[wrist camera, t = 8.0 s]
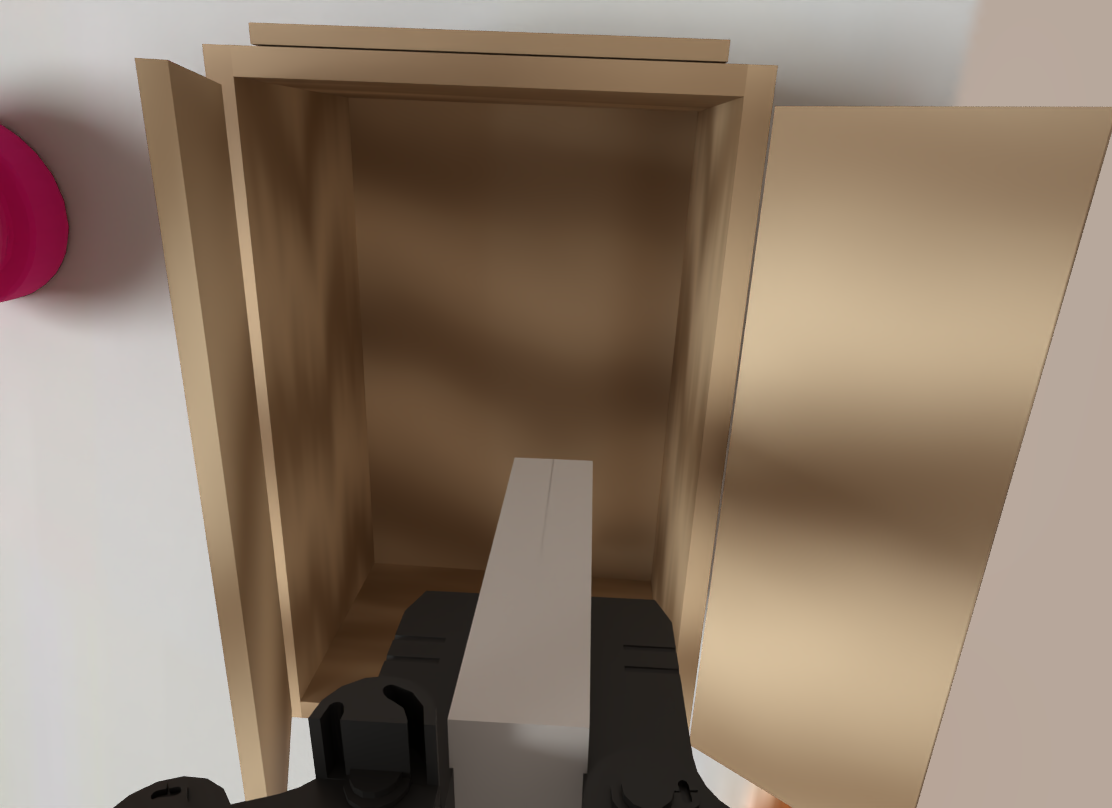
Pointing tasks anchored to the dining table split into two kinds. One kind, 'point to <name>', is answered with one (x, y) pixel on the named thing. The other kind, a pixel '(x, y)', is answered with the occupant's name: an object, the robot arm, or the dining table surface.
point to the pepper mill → (28, 220)
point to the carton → (486, 307)
